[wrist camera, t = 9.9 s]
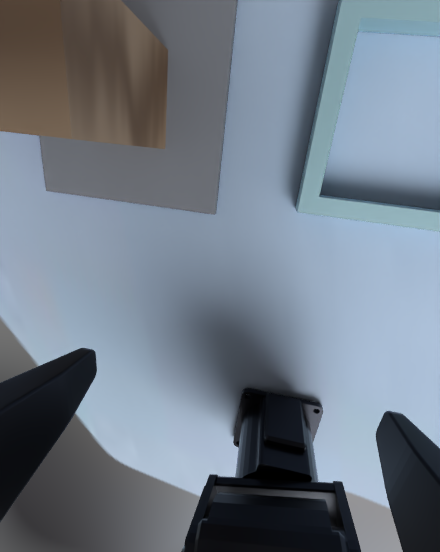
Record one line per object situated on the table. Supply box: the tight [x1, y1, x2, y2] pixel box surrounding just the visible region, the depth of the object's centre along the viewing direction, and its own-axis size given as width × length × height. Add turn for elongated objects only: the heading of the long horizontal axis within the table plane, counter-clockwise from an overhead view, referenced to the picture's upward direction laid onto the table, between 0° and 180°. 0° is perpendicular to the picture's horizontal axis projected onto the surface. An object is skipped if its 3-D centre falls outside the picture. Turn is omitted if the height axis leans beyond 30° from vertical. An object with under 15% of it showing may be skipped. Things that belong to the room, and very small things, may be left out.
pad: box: [39, 0, 238, 215], centre depth 17 cm, size 12×12×1 cm
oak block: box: [0, 0, 168, 149], centre depth 13 cm, size 5×5×9 cm
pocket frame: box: [296, 0, 440, 232], centre depth 15 cm, size 10×10×2 cm
